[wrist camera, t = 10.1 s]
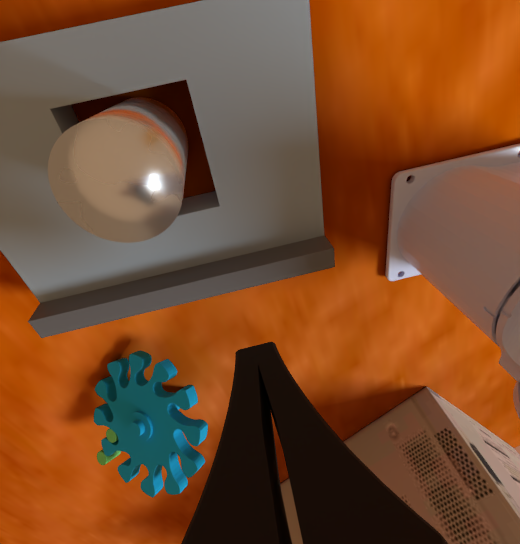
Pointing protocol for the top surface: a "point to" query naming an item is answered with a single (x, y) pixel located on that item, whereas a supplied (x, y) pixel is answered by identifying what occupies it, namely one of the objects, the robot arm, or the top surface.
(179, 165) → the cylindrical peg
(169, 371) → the gear
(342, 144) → the top surface
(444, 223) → the robot arm
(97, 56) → the plate
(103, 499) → the top surface
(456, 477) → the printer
